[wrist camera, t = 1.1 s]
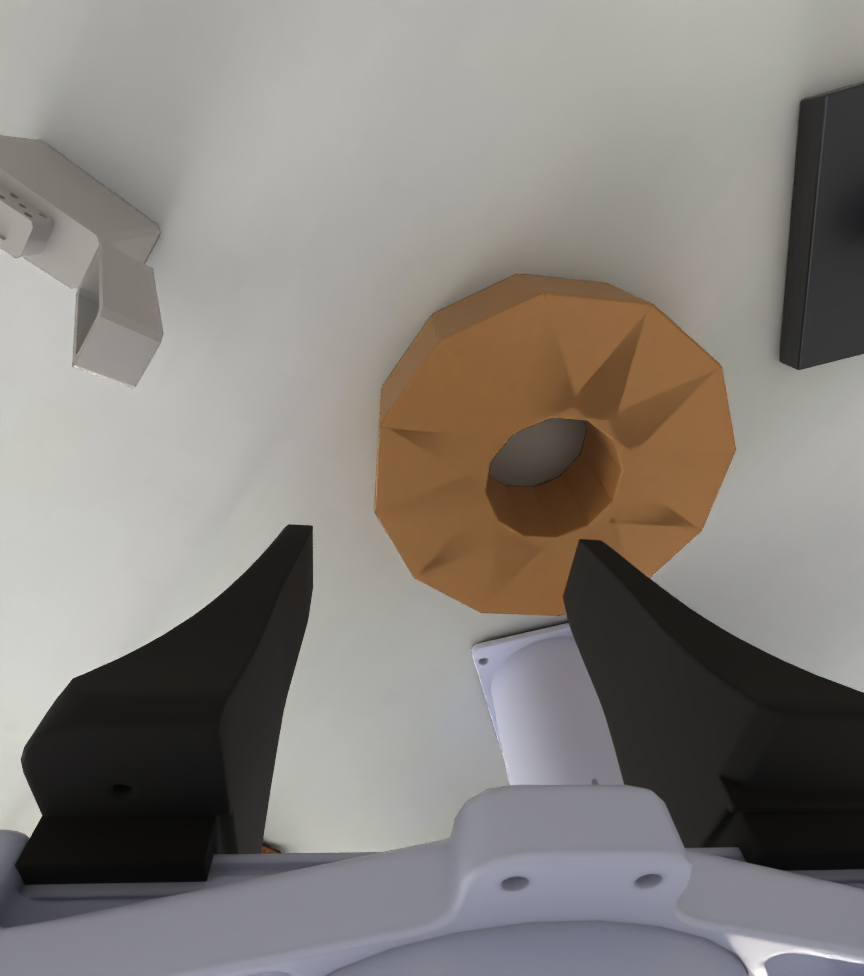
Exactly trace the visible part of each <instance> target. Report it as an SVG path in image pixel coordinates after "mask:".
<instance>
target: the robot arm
mask: <svg viewBox="0 0 864 976" xmlns="http://www.w3.org/2000/svg"><path fill="white" fill-rule="evenodd" d="M312 590H313V526H310V525H290V524H289V525H287V526H286V527H285V528H284V529H283V530H282V532H281V533H280V534H279V535H278V537H277V538H276V539H275V540H274V541H273V542H272V544H271V545H270V546H269V547H268V548H267V549H266V551H265V552H264V553H263V554H262V555H261V556H260V557H259V558H258V559H257V560H256V561H255V562H254V563H253V564H252V565H251V567H250V568H249V569H248V570H247V571H246V572H245V573H244V574H243V575H241V576H240V577H239V578H238V579H237V580H236V581H235V582H234V583H233V584H232V585H231V586H230V587H228V588H227V589H226V590H225V591H224V592H223V593H222V594H221V595H219V596H218V597H217V598H216V599H215V600H213V601H212V602H211V603H210V604H208V605H207V606H206V607H204V608H203V609H202V610H200V611H199V612H198V613H196V614H195V615H194V616H192V617H190V618H189V619H187V620H186V621H184V622H183V623H181V624H180V625H178V626H177V627H175V628H173V629H172V630H170V631H169V632H167V633H166V634H164V635H162V636H161V637H159V638H157V639H155V640H153V641H152V642H150V643H148V644H146V645H144V646H143V647H141V648H139V649H137V650H135V651H133V652H131V653H129V654H127V655H125V656H123V657H121V658H119V659H117V660H115V661H112V662H110V663H108V664H106V665H103V666H101V667H99V668H97V669H94V670H92V671H90V672H87V673H85V674H83V675H80V676H78V677H76V678H73V679H72V680H71V682H70V683H69V684H68V686H67V687H66V688H65V689H64V690H63V692H62V693H61V694H60V695H59V696H58V698H57V699H56V700H55V702H54V703H53V705H52V706H51V707H50V709H49V710H48V712H47V713H46V715H45V716H44V718H43V719H42V721H41V723H40V724H39V726H38V727H37V729H36V730H35V732H34V733H33V735H32V736H31V738H30V739H29V741H28V742H27V744H26V745H25V747H24V750H23V754H22V757H21V763H22V768H23V772H24V775H25V777H26V779H27V782H28V784H29V786H30V788H31V791H32V793H33V795H34V797H35V800H36V802H37V804H38V807H39V809H40V811H41V813H42V815H43V816H42V817H41V819H40V821H39V823H38V825H37V826H36V828H35V830H34V832H33V834H32V835H31V837H30V838H29V837H28V836H27V835H25V834H23V833H20V832H18V831H12V830H0V976H864V693H863V692H860V691H857V690H855V689H852V688H849V687H847V686H844V685H841V684H839V683H836V682H833V681H831V680H828V679H825V678H823V677H820V676H817V675H815V674H813V673H810V672H808V671H806V670H803V669H801V668H799V667H796V666H794V665H792V664H790V663H787V662H785V661H783V660H781V659H779V658H777V657H775V656H772V655H770V654H768V653H766V652H764V651H762V650H760V649H758V648H756V647H755V646H753V645H751V644H749V643H747V642H745V641H743V640H741V639H739V638H737V637H736V636H734V635H732V634H730V633H729V632H727V631H725V630H723V629H722V628H720V627H719V626H717V625H715V624H714V623H712V622H710V621H709V620H707V619H705V618H704V617H702V616H701V615H699V614H698V613H696V612H695V611H693V610H692V609H690V608H689V607H687V606H686V605H685V604H683V603H682V602H680V601H679V600H678V599H676V598H675V597H673V596H672V595H671V594H669V593H668V592H667V591H665V590H664V589H663V588H661V587H660V586H659V585H657V584H656V583H655V582H653V581H652V580H651V579H650V578H648V577H647V576H646V575H645V574H643V573H642V572H641V571H640V570H638V569H637V568H636V567H635V566H633V565H632V564H631V563H630V562H628V561H627V560H626V559H625V558H624V557H622V556H621V555H620V554H619V553H617V552H616V551H615V550H613V549H612V548H611V547H610V546H608V545H607V544H605V543H604V542H603V541H601V540H588V539H579V541H578V545H577V548H576V552H575V555H574V559H573V562H572V566H571V569H570V573H569V576H568V580H567V583H566V587H565V590H564V593H563V601H564V605H565V610H566V614H567V618H568V622H569V623H566V624H561V625H557V626H552V627H548V628H544V629H539V630H535V631H531V632H526V633H522V634H517V635H513V636H509V637H504V638H500V639H496V640H491V641H487V642H482V643H478V644H476V645H474V646H473V648H472V657H473V660H474V663H475V666H476V670H477V673H478V676H479V680H480V683H481V686H482V690H483V693H484V696H485V700H486V703H487V706H488V710H489V713H490V716H491V720H492V723H493V726H494V730H495V733H496V736H497V739H498V743H499V746H500V749H501V752H502V753H503V756H504V761H505V767H506V772H507V777H508V782H509V786H503V787H496V788H490V789H487V790H485V791H483V792H481V793H479V794H477V795H476V796H474V797H472V798H470V799H468V800H467V801H466V802H465V804H464V805H463V807H462V808H461V810H460V811H459V813H458V814H457V816H456V817H455V819H454V823H453V828H452V833H451V836H450V838H449V839H444V840H439V841H434V842H430V843H425V844H420V845H415V846H410V847H405V848H400V849H395V850H391V851H386V852H355V853H281V854H261V849H262V842H263V835H264V829H265V822H266V816H267V809H268V803H269V796H270V789H271V783H272V777H273V771H274V765H275V759H276V753H277V746H278V741H279V735H280V729H281V723H282V717H283V712H284V707H285V703H286V699H287V694H288V691H289V687H290V684H291V680H292V676H293V673H294V669H295V666H296V662H297V659H298V655H299V652H300V648H301V644H302V641H303V637H304V633H305V630H306V626H307V622H308V617H309V611H310V604H311V597H312ZM481 658H484V659H481Z"/></svg>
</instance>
